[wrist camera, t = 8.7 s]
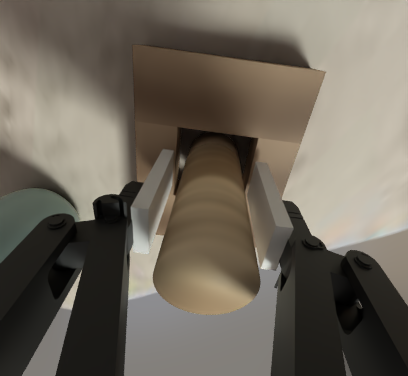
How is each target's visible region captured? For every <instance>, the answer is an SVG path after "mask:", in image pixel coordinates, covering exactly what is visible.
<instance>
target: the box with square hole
mask: <svg viewBox="0 0 408 376" xmlns="http://www.w3.org/2000/svg"><path fill="white" fill-rule="evenodd" d="M132 51H133V80H134V110H135V139H136V168H137V182H143V183H144V182H145V180H146V178H147V177H148V175H149V173H150V171H151V169H152V168H153V166H154V164H155V162H156V160H157V159H158V157H159V155H160V153H161V151H162V150H163V149H166V150H174V161H173V179H172V187H171V190H170V193H169V196H168V199H167V202H166V205H165V208H164V211H163V214H162V217H161V220H160V223H159V226H158V228H157V231H156V235H164V234H165V231H166V228H167V224H168V221H169V217H170V214H171V210H172V207H173V204H174V200H175V197H176V193H177V190H178V187H179V183H180V180H178V174H179V160H180V146H181V132H182V128H188V129H196V130H203V131H210V132H218V133H225V134H232V135H240V136H247V137H251V142H250V146H249V150H248V155H247V159H246V163H245V167H244V172H243V176H242V178H243V184H244V189H245V195H246V201H247V207H248V212H249V218H250V224H251V229H252V235H253V241H254V247H256V241H255V236H254V230H253V225H252V220H251V214H250V209H249V203H248V198H247V194H248V190H249V186H250V182H251V178H252V174H253V170H254V167H255V163H256V162H263V163H267V164H268V167H269V169H270V172H271V174H272V176H273V179H274V181H275V184H276V186H277V189H278V191H279V194H280V196H281V198H282V195H283V192H284V189H285V187H286V184H287V181H288V178H289V175H290V172H291V170H292V167H293V164H294V161H295V158H296V155H297V153H298V150H299V147H300V144H301V141H302V138H303V136H304V133H305V130H306V127H307V124H308V121H309V119H310V116H311V113H312V110H313V107H314V104H315V102H316V99H317V96H318V93H319V90H320V87H321V85H322V82H323V79H324V76H325V73H326V72H324V71H320V70H316V69H312V68H305V67H298V66H290V65H283V64H276V63H269V62H262V61H255V60H248V59H241V58H233V57H226V56H219V55H212V54H205V53H198V52H191V51H184V50H176V49H169V48H162V47H155V46H148V45H132Z"/></svg>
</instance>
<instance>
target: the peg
mask: <svg viewBox="0 0 408 376" xmlns="http://www.w3.org/2000/svg"><path fill="white" fill-rule="evenodd" d="M153 283H154V286H155V288H156V290H157V292H158V293H159V294H160V296H162V298H163V299H165V300H166V301H167V302H169V303H170V304H171V305H173V306H175V307H177V308H179V309H182V310H184V311H187V312H192V313H196V314H204V315H216V314H225V313H229V312H232V311H235V310H238V309H240V308H242V307H244V306H246V305H247V304H248V303H250V302H251V301H252V300H253V299H254V298H255V296H256V295H257V293H258V291H259V288H260V276H259V270H258V264H257V258H256V252H255V247H254V241H253V235H252V229H251V224H250V218H249V212H248V207H247V201H246V195H245V189H244V184H243V178H242V172H241V167H240V161H239V155H238V150H237V147H236V144H235V143H234V141H233V140H232V139H231V138H230V137H229V136H227V135H225V134H223V133H218V132H207V133H204V134H201V135H200V136H198V137H197V138H196V139H195V140H194V141H193V142H192V144H191V146H190V149H189V152H188V156H187V159H186V163H185V166H184V169H183V173H182V176H181V180H180V183H179V187H178V190H177V193H176V197H175V200H174V204H173V207H172V210H171V214H170V217H169V221H168V224H167V228H166V231H165V234H164V238H163V241H162V245H161V248H160V252H159V255H158V258H157V262H156V265H155V269H154V272H153Z"/></svg>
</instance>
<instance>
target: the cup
mask: <svg viewBox="0 0 408 376" xmlns="http://www.w3.org/2000/svg"><path fill="white" fill-rule="evenodd" d="M59 213H66V214H70V215H72V216H73V217H74V219H75V222H80V218H79V216H78V213H77V211H76V210H75V208H74V207H73V206H72V205H71V204H70V203H69V202H68V201H67V200H66V199H65V198H63V197H62V196H60V195H59V194H57V193H55V192H53V191H50V190H47V189H41V188H26V189H22V190H18V191H14V192H11V193H9V194H6V195H4V196H2V197H0V263H1V262H2V261H3V260H4V259H5V258H6V257H7V256H8V255H9V254H10V253H11V252H12V251H13V250H14V249H15V248H16V246H17V245H18V244H19V243H20V242H21V241H22V240H23V239H24V238H25V237H26V236H27V235H28V234H29V233H30V232H31V231H32V230H33V229H34V228H35V227H36V226H37V225H38V223H39V222H40V221H42V220H43V219H44V218H46V217H48V216H51V215H54V214H59Z"/></svg>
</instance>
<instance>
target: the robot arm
mask: <svg viewBox="0 0 408 376" xmlns="http://www.w3.org/2000/svg"><path fill="white" fill-rule="evenodd" d="M173 161H174V150H166V149H163V150H162V151H161V153H160V155H159V157H158V159H157V160H156V162H155V164H154V166H153V168H152V169H151V171H150V173H149V175H148V177H147V178H146V180H145V182H144V183H143V182H135V181H132V182H130V183H128V184H127V185H125V187H124V188H123V190H122V192H121V193H120V194H119V195H116V194H109V195H103V196H101V197H98V198H97V199H95V201H94V202H93V209H94V215H95V220H90V221H81V222H75V219H74V217H73V216H72V215H70V214H66V213H59V214H54V215H51V216H48V217H46V218H44V219H43V220H42V221H40V222H39V223H38V225H37V226H36V227H35V228H34V229H33V230H32V231H31V232H30V233H29V234H28V235H27V236H26V237H25V238H24V239H23V240H22V241H21V242H20V243H19V244H18V245H17V246H16V248H15V249H14V250H13V251H12V252H11V253H10V254H9V255H8V256H7V257H6V258H5V259H4V260H3V261H2V262H1V263H0V376H22V374H23V372H24V371H25V369H26V367H27V365H28V364H29V362H30V360H31V358H32V357H33V355H34V353H35V351H36V349H37V348H38V346H39V344H40V342H41V341H42V339H43V337H44V335H45V333H46V332H47V330H48V328H49V326H50V325H51V323H52V321H53V319H54V318H55V316H56V314H57V312H58V311H59V309H60V307H61V305H62V304H63V302H64V300H65V298H66V297H67V295H68V293H69V291H70V289H71V288H72V286H73V284H74V282H75V281H76V279H77V277H78V275H79V274H80V272H81V270H82V273H81V277H80V281H79V285H78V288H77V292H76V296H75V300H74V304H73V308H72V312H71V316H70V320H69V324H68V328H67V332H66V336H65V340H64V344H63V348H62V352H61V356H60V360H59V364H58V368H57V371H56V375H55V376H124V364H125V344H126V325H127V324H126V323H127V306H128V287H129V267H130V250H131V248H132V245H133V252H135V253H143V254H149V252H150V249H151V246H152V243H153V240H154V237H155V234H156V231H157V228H158V226H159V223H160V220H161V217H162V214H163V211H164V208H165V205H166V202H167V199H168V196H169V193H170V190H171V187H172V179H173ZM247 198H248V203H249V209H250V214H251V220H252V225H253V230H254V236H255V241H256V247H257V252H258V257H259V263H260V268H261V269H268V270H276V269H277V267H278V264H279V263H280V266H281V273H280V275H279V277H278V280H277V282H276V284H275V288H277V286H278V292H277V305H276V317H275V329H274V341H273V353H272V366H271V376H346V371H345V365H344V358H343V352H344V355H345V358H346V360H347V363H348V366H349V368H350V371H351V373H352V376H408V306H407V304H406V303H405V302H404V300H403V299H402V297H401V296H400V294H399V293H398V291H397V290H396V288H395V287H394V286H393V284H392V283H391V281H390V280H389V278H388V277H387V275H386V274H385V273H384V271H383V270H382V268H381V267H380V265H379V264H378V263H377V262H376V261H375V260H374V259H373V258H371V257H370V256H369V255H367V254H365V253H363V252H360V251H356V250H350V251H348V252H347V253H346V255H345V256H342V255H339V254H336V253H333V252H331V251H328V250H327V249H326V247H325V244H324V243H323V242H322V241H321V240H320V239H318V238H317V237H315V236H312V235H311V233H310V231H309V229H308V227H307V225H306V223H305V221H304V220H303V217H302V215H301V213H300V211H299V208H298V207H297V206H296V205H295V204H294V203H293V202H291V201H284V200H282V198H281V196H280V194H279V191H278V189H277V186H276V184H275V181H274V179H273V176H272V174H271V172H270V169H269V167H268V164H267V163H263V162H256V163H255V167H254V170H253V174H252V178H251V182H250V186H249V190H248V194H247ZM82 268H83V269H82ZM358 301H360V303H361V305H362V307H361V306H360V304H359V302H358ZM342 350H343V352H342Z"/></svg>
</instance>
